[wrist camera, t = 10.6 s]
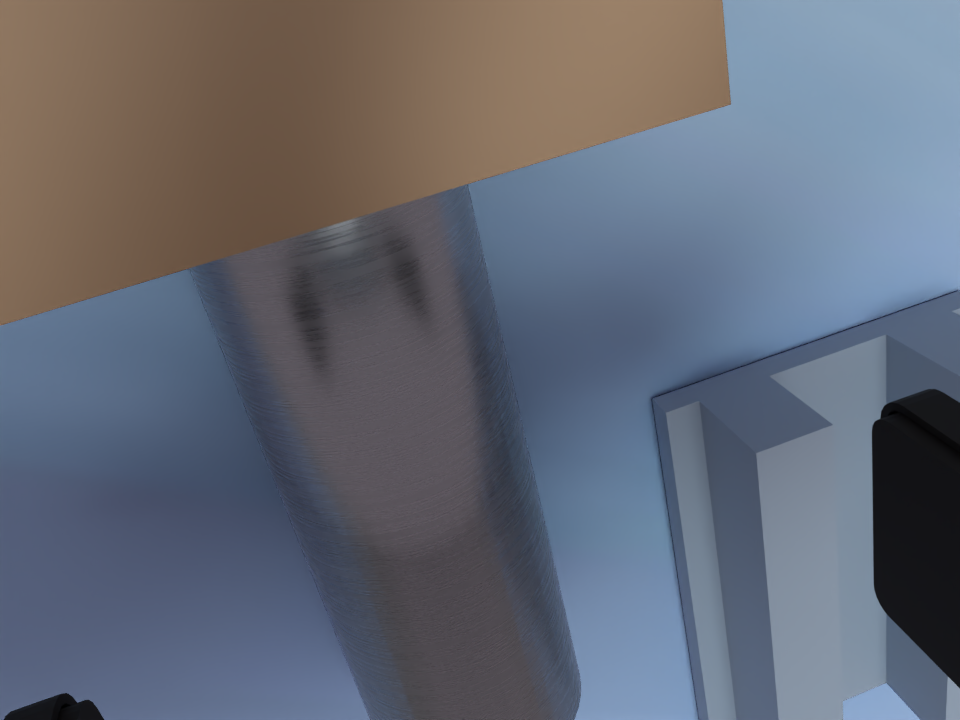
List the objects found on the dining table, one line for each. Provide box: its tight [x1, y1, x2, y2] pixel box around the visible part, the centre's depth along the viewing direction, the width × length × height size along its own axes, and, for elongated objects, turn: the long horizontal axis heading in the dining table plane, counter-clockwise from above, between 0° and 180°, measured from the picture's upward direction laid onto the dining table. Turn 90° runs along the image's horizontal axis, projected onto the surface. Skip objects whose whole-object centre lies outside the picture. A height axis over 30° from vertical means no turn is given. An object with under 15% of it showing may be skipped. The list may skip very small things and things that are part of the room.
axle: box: [189, 184, 581, 720], centre depth 12 cm, size 20×4×4 cm, turn 13°
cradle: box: [652, 290, 960, 720], centre depth 19 cm, size 10×7×3 cm
